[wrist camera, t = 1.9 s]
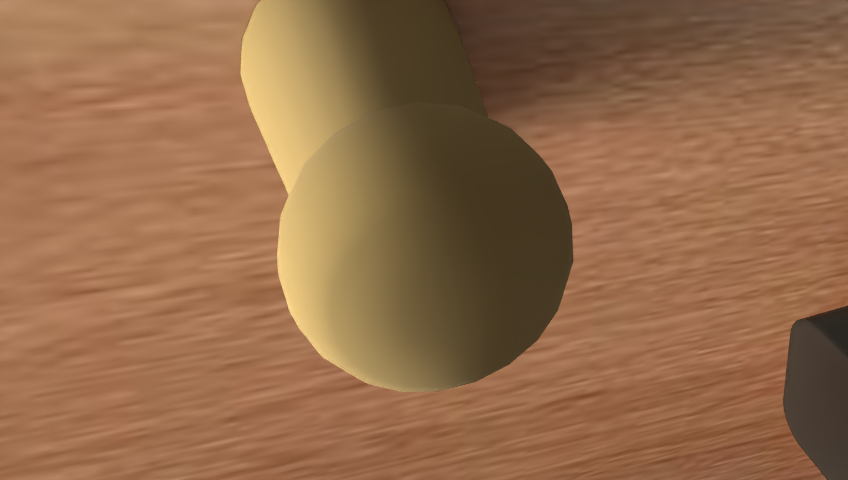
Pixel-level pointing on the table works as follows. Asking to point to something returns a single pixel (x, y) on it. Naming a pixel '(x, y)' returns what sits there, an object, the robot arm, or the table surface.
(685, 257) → the table surface
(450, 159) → the tan game pawn
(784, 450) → the table surface
